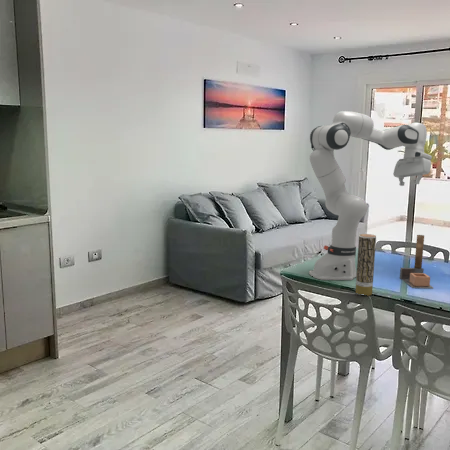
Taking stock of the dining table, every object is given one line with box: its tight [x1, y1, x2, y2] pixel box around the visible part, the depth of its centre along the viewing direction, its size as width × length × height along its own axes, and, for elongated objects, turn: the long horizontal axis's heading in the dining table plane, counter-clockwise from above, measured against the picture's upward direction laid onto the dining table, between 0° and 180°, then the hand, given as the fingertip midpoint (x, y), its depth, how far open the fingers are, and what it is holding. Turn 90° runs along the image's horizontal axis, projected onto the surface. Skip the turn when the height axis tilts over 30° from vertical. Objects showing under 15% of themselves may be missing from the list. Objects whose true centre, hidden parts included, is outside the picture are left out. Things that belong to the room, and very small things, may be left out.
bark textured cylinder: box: [355, 233, 377, 297], centre depth 209 cm, size 7×7×25 cm
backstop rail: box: [399, 267, 434, 290], centre depth 229 cm, size 16×10×5 cm, turn 179°
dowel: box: [413, 234, 425, 268], centre depth 239 cm, size 3×3×20 cm
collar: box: [409, 272, 431, 286], centre depth 225 cm, size 7×7×4 cm
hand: (408, 184), depth 241 cm, fingers open, 8 cm apart
